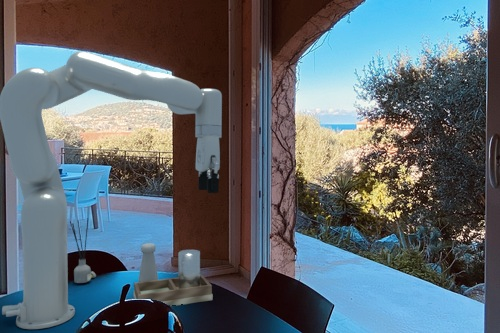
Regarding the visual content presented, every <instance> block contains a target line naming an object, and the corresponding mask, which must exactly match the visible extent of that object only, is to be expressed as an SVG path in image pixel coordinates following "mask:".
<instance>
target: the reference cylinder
mask: <svg viewBox="0 0 500 333" xmlns="http://www.w3.org/2000/svg"><path fill="white" fill-rule="evenodd" d="M177 256H178V257H177V258H178V260H177V261H178V263H177V264H178V272H177V273H178V275H177V276H178V289H182V288H189V287H197V286H200V275H201V251H200V250H199V249H198V250H197V249H182V250H180V251H179V252H178V255H177Z"/></svg>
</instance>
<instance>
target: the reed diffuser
mask: <svg viewBox="0 0 500 333" xmlns="http://www.w3.org/2000/svg"><path fill="white" fill-rule="evenodd" d="M86 219H87V221H86V232H85V241H84V242H85V243H84V250H83V243H82V237H81V230H80V229H81V228H80V222H79V221H80V220H79V219H77V225H78V227H77V228H78V233H79V240H80V246H81V249H80V247H79V244H78V240H77V234H76V230H75V226H74V223H72V220H69V223H70V226H71V229H72V232H73V235H74V240H75V243H76V248H77V251H78V256H79V259H78V265H77V266H76V267H75V268H74V270H73V276H74V277H73V278H74V283H76V284H84V283H88V282H90V281H91V279H94V278H96V277H97V274H96V273H95V272H94V271H92V270H91V266H89V265H88V264H86V263H87V262H86V247H87V238H88V226H89V225H88V224H89V218H86Z"/></svg>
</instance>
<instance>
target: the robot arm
mask: <svg viewBox="0 0 500 333" xmlns="http://www.w3.org/2000/svg"><path fill="white" fill-rule="evenodd" d="M91 90H94V91H98V92H102V93H106V94H109V95H113V96H115V97H118V98H121V99H126V100H130V101H151V102H152V101H153V102H157V103H162V104H166V105H167V106H166V107H167V108H168V109H169V110H170V111H171V112H172V113H174V114H176V115H191V114H195V127H194V128H195V130H194V131H195V135H194V136H195V138H197V139H196V140H197V141H196V149H195V150H196V152H195V170H196V171H197V172H198V187H197V188H198V191H206V192H207V194H218V193H219V192H220V191H219V187H220V185H219V183H220V175H219V173H220V168H221V166H220V165H221V160H220V159H221V158H220V157H221V156H220V155H221V152H220V151H221V150H220V139H222V122H223V121H222V116H223V114H222V113H223V112H222V111H223V110H222V109H223V107H222V106H223V105H222V104H223V99H222V98H223V95H222V92H221V91H220V90H219V89H216V88H201V89H200V87H199V86H198V85H197V84H195V83H193V82H191V81H189V80H186V79H183V78H181V77H177V76H174V75H171V74H168V73H162V72H158V71H153V70H148V69H143V68H137V67H135V66H131V65H128V64H125V63H121V62H119V61H116V60H113V59H110V58H107V57H104V56H100V55H98V54H96V53H92V52H88V51H81V50H80V51H76V52H74V53H72V54H71V55H70V56H69V58H68V59H67V60H66V64H64V65H62V66H61V67H58V68H55V69H53V70H51V71H47V70H46V69H44V68H40V67H30V68H25V69H23V70H21V71H19V72H16V74H14V75H13V76H12V77H10V78H9V79H8V81H7V82H6V83H5V84H4V86H3V88H2V90H1V92H0V123H1V129H2V132H3V138H4V142H5V146H6V150H7V153H8V157H9V158H8V159H9V161H10V168H11V171H12V174H13V176H14V177H15V178H16V179H17V180H18V183H19V186H20V189H21V192H22V193H21V194H22V196H23V199H24V201H23V203H22V205H21V209H20V225H21V240H22V246H21V248H22V282H23V283H22V285H23V287H22V291H23V292H22V293H23V294H22V295H23V300H22V302H18V303H17V304H14V305H13V304H10V305H3V306H2V308H1V314H2V315H5V317H6V318H7V317H8V318H9V317H15V316H16V320H15V325H16V326H17V327H19V328H21V329H24V330H25V329H26V330H41V329H48V328H51V327H55V326H59V325H61V324H64V323H66V322H67V321H69V320H71V319H72V318H73V317H74V316H75V313H76V310H75V309H76V308H75V307H74V306H73V305H71V304H69V300H68V299H69V294H68V293H69V289H68V288H69V286H68V285H69V284H68V282H69V280H68V279H69V278H68V274H69V272H68V270H69V269H68V201H67V197H66V193H65V192H66V191H65V189H64V185H63V182H62V181H63V180H62V178H61V174H60V170H59V165H58V162H57V157H56V156H55V155H54V153H53V152H52V151H51V148H50V145H49V141H48V138H47V134H46V128H45V124H44V120H43V115H42V113H43V110H48V109H51V108H54V107H56V106H58V105H59V106H60V105H61V104H64V103H65V102H68V101H70V100H73V99H74V98H76V97H79V96H80V95H83V94H85V93H87V92H89V91H91Z"/></svg>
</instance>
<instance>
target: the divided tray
mask: <svg viewBox="0 0 500 333" xmlns="http://www.w3.org/2000/svg"><path fill="white" fill-rule="evenodd" d="M212 287H213V285H212V284H211V283H210V282H209V281H208V279H207V278H206V277H205V276H204V275H203V274H201V273H200V286H197V287H189V288H182V289H178V277H170V278H161V279H158V280H153V281H145V282H139V281H138V282H133V292H132V293H133V299H134V298H135V299H152V300H157V301H161V302H163V303H165V304H167V305H170V307H173V306H172V305H176V306H181V304H183V305H188V304H194V303H200V302H201V303H202V302H208V301H213V297H214V296H213V293H212V292H213V290H212V289H213V288H212Z"/></svg>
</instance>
